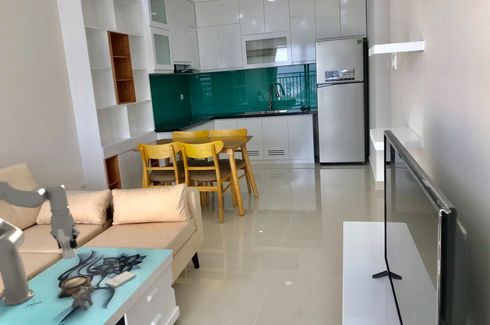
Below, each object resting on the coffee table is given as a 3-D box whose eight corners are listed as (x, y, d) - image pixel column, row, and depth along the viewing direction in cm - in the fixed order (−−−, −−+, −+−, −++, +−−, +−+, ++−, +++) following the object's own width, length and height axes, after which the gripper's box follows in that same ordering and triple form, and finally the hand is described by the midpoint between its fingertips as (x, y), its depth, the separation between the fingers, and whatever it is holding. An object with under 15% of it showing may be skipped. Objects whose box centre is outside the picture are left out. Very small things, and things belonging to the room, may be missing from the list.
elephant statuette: (69, 313, 173) (65, 297, 171) (80, 296, 185) (77, 281, 182) (90, 311, 173) (87, 295, 171) (100, 295, 184) (97, 280, 182)
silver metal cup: (71, 259, 186) (65, 229, 183) (58, 259, 187) (52, 229, 184) (80, 252, 192) (74, 223, 189) (67, 253, 194) (61, 223, 191)
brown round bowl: (56, 295, 189) (54, 287, 188) (73, 280, 201) (72, 274, 200) (79, 296, 186) (78, 288, 185) (96, 281, 198) (95, 274, 197)
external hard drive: (136, 277, 200) (115, 289, 190) (126, 273, 204) (105, 285, 194) (136, 274, 199) (115, 285, 189) (125, 270, 204) (104, 282, 194)
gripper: (39, 214, 184) (46, 251, 187) (71, 214, 179) (79, 251, 183) (50, 209, 191) (57, 244, 195) (82, 208, 186) (89, 244, 190)
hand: (68, 247), depth 189 cm, fingers closed on silver metal cup, 6 cm apart
